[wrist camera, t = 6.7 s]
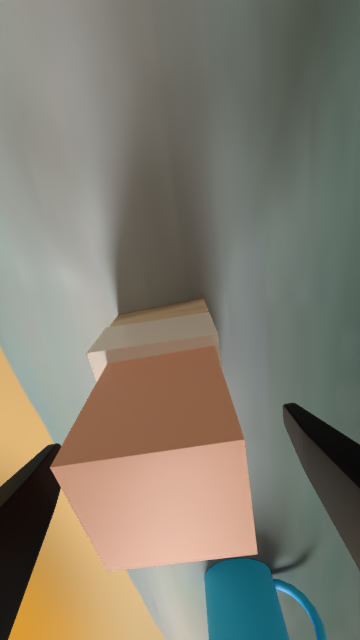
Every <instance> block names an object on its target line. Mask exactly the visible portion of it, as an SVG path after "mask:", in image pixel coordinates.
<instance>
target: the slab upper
mask: <svg viewBox="0 0 360 640" xmlns="http://www.w3.org/2000/svg"><path fill="white" fill-rule="evenodd" d="M209 346H214V347H215V350H216V353H217V356H218V359H219V362H220V366H221V369H222V365H221V356H220V347H219V337H218V332H217V330H216V327H215V325H214V322H213V320H212V318H211V315H210V313H209V312H207V313H201V314H194V315H187V316H181V317H174V318H167V319H161V320H154V321H147V322H141V323H134V324H127V325H121V326H114V327H107V328H106V329H105V330H104V331H103V332H102V334H101V335H100V336H99V338H98V339H97V340H96V342H95V343H94V344H93V345H92V347H91V348H90V349H89V351H88V352H87V356H88V359H89V362H90V365H91V367H92V370H93V373H94V376H95V379H96V382H97V381H98V379H99V378H100V376H101V374H102V372H103V370H104V368H105V367H106V365H107V364H109V363H115V362H121V361H127V360H133V359H139V358H144V357H150V356H156V355H162V354H168V353H174V352H180V351H186V350H192V349H198V348H203V347H209Z"/></svg>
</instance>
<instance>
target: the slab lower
mask: <svg viewBox="0 0 360 640" xmlns="http://www.w3.org/2000/svg"><path fill="white" fill-rule="evenodd" d="M207 312H209V310H208V308H207V305H206V303H205V300H204V298H202V299H197V300H192V301H187V302H182V303H177V304H172V305H167V306H162V307H156V308H151V309H146V310H141V311H136V312H131V313H126V314H121V315H118V316H117V317H116V319H115V320H114V321H113V323H112V324H111V325H110V327H114V326H121V325H127V324H134V323H141V322H147V321H154V320H161V319H167V318H174V317H181V316H187V315H194V314H201V313H207Z"/></svg>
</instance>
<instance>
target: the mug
mask: <svg viewBox="0 0 360 640" xmlns="http://www.w3.org/2000/svg"><path fill="white" fill-rule="evenodd" d="M276 590H281V591H283V592H285V593H288V594H290V595H291V596H292V597H293V598H295V599H296V600H297V601H298V602H300V604H301V605H302V606H303V607H304V609H305V610H306V611H307V613H308V614H309V616H310V619H311V621H312V623H313V625H314V628H315V632H316V637H317V640H327V638H326V634H325V630H324V626H323V623H322V621H321V619H320V617H319V615H318V613H317V611H316V609H315V607H314V606H313V605H312V603H311V602H310V601H309V600H308V599H307V597H306V596H305V595H304V594H303V593H302V592H300V591H299V590H298V589H297V588H295V587H294V586H293V585H291V584H289V583H286V582H284V581H282V580H279V579H273V578H272V574H271V571H270V568H269V567H267V566H266V565H265V564H264V563H262V562H260V561H257V560H253V559H248V558H236V559H230V560H225V561H222V562H220V563H217V564H215V565H214V566H212V567H211V568H209V569H208V571H207V572H206V574H205V593H206V606H207V619H208V633H209V640H289V636H288V633H287V629H286V625H285V622H284V618H283V614H282V611H281V607H280V604H279V600H278V596H277V593H276Z"/></svg>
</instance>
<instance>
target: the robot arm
mask: <svg viewBox="0 0 360 640" xmlns="http://www.w3.org/2000/svg"><path fill="white" fill-rule="evenodd" d="M283 418H284V424H285V427H286V430H287V432H288V434H289V437H290V439H291V441H292V444H293V446H294V448H295V451H296V453H297V455H298V457H299V460H300V462H301V464H302V467H303V469H304V471H305V473H306V475H307V476H308V478H309V480H310V482H311V484H312V485H313V487H314V489H315V491H316V493H317V495H318V496H319V498H320V500H321V502H322V504H323V505H324V507H325V509H326V511H327V513H328V514H329V516H330V518H331V520H332V522H333V523H334V525H335V527H336V529H337V531H338V532H339V534H340V536H341V538H342V540H343V541H344V543H345V545H346V547H347V549H348V550H349V552H350V554H351V556H352V558H353V559H354V561H355V563H356V565H357V567H358V569H359V570H360V445H359V444H358V443H356V442H355V441H353V440H352V439H350V438H348V437H347V436H345V435H344V434H342V433H341V432H339V431H338V430H336V429H335V428H333V427H331V426H330V425H328V424H327V423H325V422H324V421H322V420H321V419H319V418H317V417H316V416H314V415H313V414H311V413H310V412H308V411H307V410H305V409H303V408H302V407H300V406H299V405H297V404H296V403H288V404H284V405H283ZM60 448H61V445H60V444H58V443H56V444H51V445H48V446H46V447H45V448H44V449H43V450H42V451H41V452H40V453H38V454H37V455H36V456H35V457H34V458H33V459H32V460H30V461H29V462H28V463H27V464H26V465H25V466H24V467H22V468H21V469H20V470H19V471H18V472H17V473H16V474H14V475H13V476H12V477H11V478H10V479H9V480H7V481H6V482H5V483H4V484H3V485H2V486H1V487H0V640H8V638H9V635H10V633H11V629H12V627H13V624H14V621H15V619H16V616H17V613H18V610H19V607H20V605H21V602H22V599H23V596H24V593H25V591H26V588H27V585H28V582H29V580H30V577H31V574H32V571H33V568H34V566H35V563H36V560H37V557H38V554H39V551H40V549H41V546H42V543H43V540H44V538H45V535H46V532H47V529H48V527H49V524H50V521H51V518H52V515H53V513H54V509H55V507H56V503H57V500H58V496H59V492H60V488H61V487H60V485H59V483H58V481H57V480H56V478H55V476H54V474H53V472H52V470H51V469H50V467H51V465H52V463H53V461H54V459H55V457H56V456H57V454H58V452H59V450H60Z"/></svg>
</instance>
